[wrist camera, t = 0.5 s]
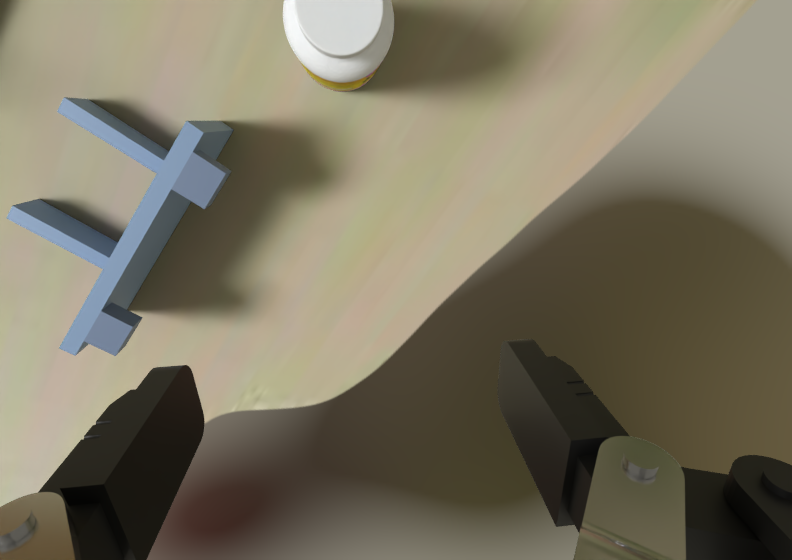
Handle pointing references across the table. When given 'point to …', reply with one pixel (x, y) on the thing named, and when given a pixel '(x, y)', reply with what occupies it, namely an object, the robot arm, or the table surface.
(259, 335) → the table surface
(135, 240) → the blue rail with prongs
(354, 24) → the supplement bottle
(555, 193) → the table surface
